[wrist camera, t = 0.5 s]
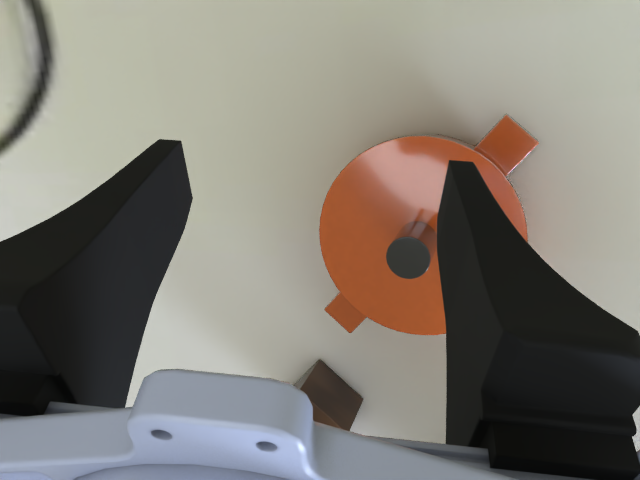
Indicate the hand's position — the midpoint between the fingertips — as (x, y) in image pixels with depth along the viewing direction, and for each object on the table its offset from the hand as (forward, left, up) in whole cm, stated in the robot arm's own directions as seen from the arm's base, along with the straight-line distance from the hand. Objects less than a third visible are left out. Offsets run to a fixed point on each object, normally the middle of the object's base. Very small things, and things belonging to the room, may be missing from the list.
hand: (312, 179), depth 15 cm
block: (-19, +12, -22) cm, 32 cm away
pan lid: (-7, +1, -18) cm, 19 cm away
